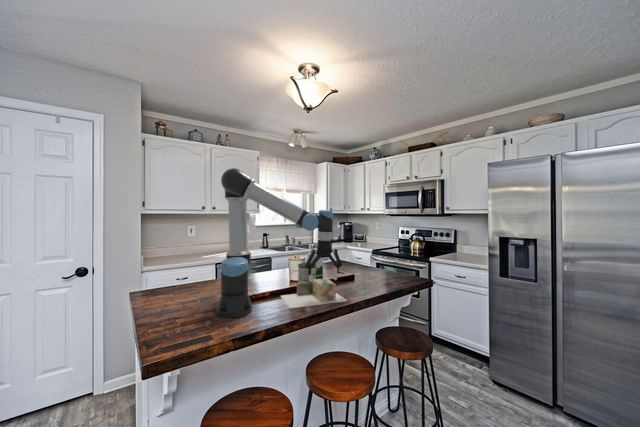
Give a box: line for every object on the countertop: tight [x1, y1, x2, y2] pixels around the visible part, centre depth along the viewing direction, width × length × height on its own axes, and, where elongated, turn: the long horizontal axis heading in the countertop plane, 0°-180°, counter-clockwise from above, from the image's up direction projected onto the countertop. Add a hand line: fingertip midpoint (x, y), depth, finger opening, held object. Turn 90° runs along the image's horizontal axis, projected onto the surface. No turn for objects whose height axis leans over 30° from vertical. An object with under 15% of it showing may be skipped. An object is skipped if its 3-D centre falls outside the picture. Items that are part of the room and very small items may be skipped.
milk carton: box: [307, 252, 324, 279], centre depth 176 cm, size 9×9×20 cm
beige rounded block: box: [313, 277, 337, 302], centre depth 143 cm, size 8×12×8 cm, turn 22°
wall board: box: [280, 292, 348, 309], centre depth 141 cm, size 30×19×1 cm, turn 112°
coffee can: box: [297, 262, 316, 284], centre depth 159 cm, size 10×10×14 cm
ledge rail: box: [296, 282, 313, 295], centre depth 150 cm, size 20×2×7 cm, turn 112°
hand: (323, 280), depth 143 cm, fingers open, 13 cm apart
